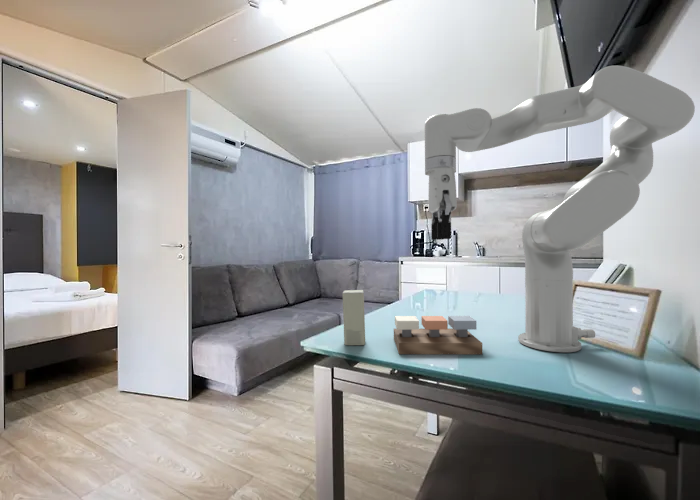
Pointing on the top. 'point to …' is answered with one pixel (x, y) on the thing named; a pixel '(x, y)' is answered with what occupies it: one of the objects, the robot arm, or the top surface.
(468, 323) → the slate key
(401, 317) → the cream key
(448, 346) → the walnut board
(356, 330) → the box
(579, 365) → the top surface
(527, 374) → the top surface
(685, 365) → the top surface
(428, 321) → the terracotta key
